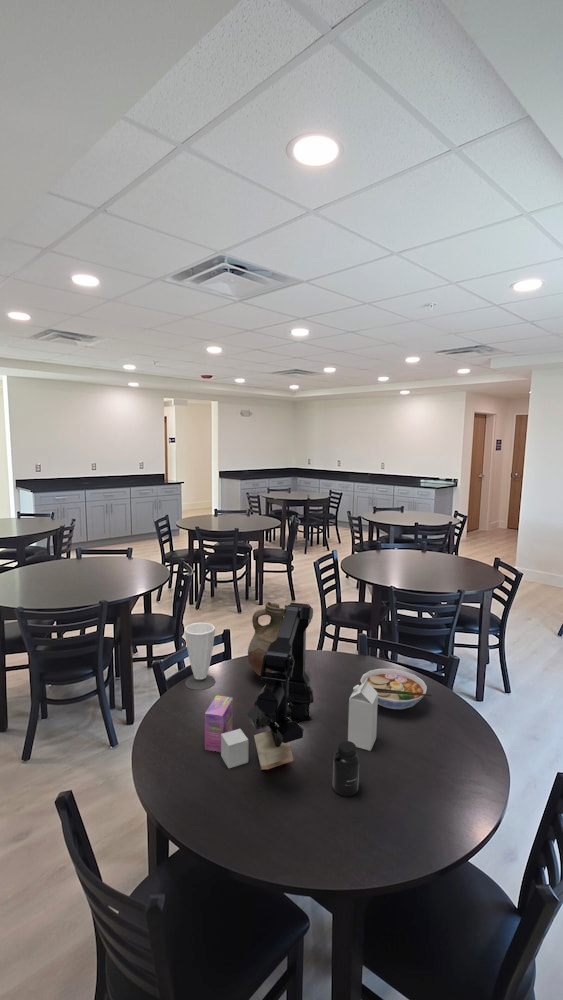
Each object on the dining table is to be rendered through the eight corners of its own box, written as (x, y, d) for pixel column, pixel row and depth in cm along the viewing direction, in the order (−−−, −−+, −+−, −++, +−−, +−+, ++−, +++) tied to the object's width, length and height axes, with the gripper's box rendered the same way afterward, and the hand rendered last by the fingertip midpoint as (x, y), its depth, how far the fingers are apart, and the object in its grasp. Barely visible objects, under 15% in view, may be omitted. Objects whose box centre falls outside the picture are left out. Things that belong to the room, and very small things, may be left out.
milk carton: (376, 738, 149) (378, 680, 147) (370, 751, 143) (372, 691, 140) (354, 732, 152) (356, 675, 150) (347, 745, 146) (349, 686, 143)
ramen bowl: (425, 690, 178) (426, 669, 177) (433, 725, 156) (434, 702, 155) (357, 683, 183) (357, 663, 182) (355, 717, 160) (356, 694, 159)
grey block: (240, 750, 143) (240, 728, 142) (248, 762, 137) (248, 739, 137) (221, 756, 140) (221, 734, 139) (228, 768, 135) (228, 745, 134)
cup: (213, 690, 177) (212, 634, 174) (181, 689, 177) (181, 633, 174) (217, 675, 188) (217, 622, 185) (188, 674, 188) (187, 621, 185)
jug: (310, 689, 178) (311, 611, 174) (252, 695, 173) (252, 615, 169) (295, 663, 199) (296, 593, 195) (244, 668, 194) (244, 596, 190)
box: (222, 753, 141) (222, 715, 140) (204, 750, 143) (204, 713, 141) (233, 732, 151) (233, 697, 150) (216, 729, 153) (215, 694, 151)
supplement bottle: (352, 801, 123) (353, 757, 122) (328, 790, 127) (329, 748, 125) (362, 785, 129) (364, 743, 127) (339, 775, 132) (340, 735, 131)
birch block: (286, 761, 138) (278, 727, 142) (293, 760, 134) (285, 726, 138) (261, 769, 134) (253, 735, 138) (267, 769, 130) (260, 733, 134)
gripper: (237, 684, 136) (237, 736, 138) (266, 718, 120) (266, 776, 122) (272, 676, 141) (272, 725, 143) (304, 707, 125) (304, 762, 127)
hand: (277, 746), depth 134 cm, fingers closed
